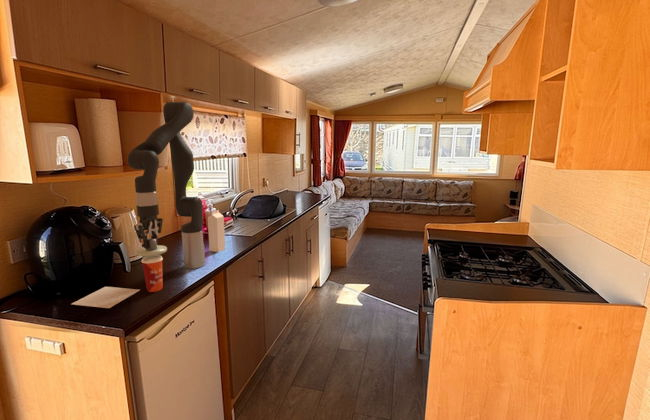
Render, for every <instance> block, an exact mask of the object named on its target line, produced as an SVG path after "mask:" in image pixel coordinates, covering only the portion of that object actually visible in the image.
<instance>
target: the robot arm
mask: <svg viewBox="0 0 650 420" xmlns="http://www.w3.org/2000/svg"><path fill="white" fill-rule="evenodd" d="M162 112H163V119H164V124H162V125H160V126H158V127H157V128H155V129H154V130H153V131H152V132H151V133H150V134H149V135H148V137H147V138H146V139H145V140H144V141H143V142H141V143H139V144H138V145H137V146H136V147H134V148H132V149H131V151H130V152H129V154H128V155H127V160H126V161H127V164H128V166H129V168H132V169H134V170H144V171H143V174H142V175H138V176H137V177H135V179H134V189H135V206H136V216H137V217H138V218H139V220H138V221H139V223H138V224H134V225H133V229H134V231H135V233H136V237H137V238H138V239H139V240H142V244H143V247H144V248H145V249H149V248H150V239H149V238H156V241H157V245H158V244H159V240H158V239H159V238H158V236H159V234H161V233H162V229H163V228H162V227H163V222H164V221H163V218H162V217H161V218H160V217H158V215H159V214H160V211H159V197H158V193H157V183H156V182H157V181H156V179H157V175H158V170H159V164H160V160H159V156H158V155H160V154H162V153H163V151H164V150H165V149H166V147H167V146H168V145H169V149H170V150H169V151H170V161H171V167H172V173H173V174H172V175H173V182H174V201H175V202H174V204H175V205H174V206H175V210H176V214H177V215H178V216H179V217H182V218H183V217H187V218H188V217H189V218H190V219H191V220H190V222H186V223H184V224H182V225H181V227H180V228H181V241H182V243H181V244H182V256H183V267H184V268H185V269H189V270H192V269H199V268H202V267H204V266H205V265H206V264H205V263H206V258H205V257H206V254H205V244H204V235H203V234H204V231H203V224H204V217H203V215H204V214H203V213H204V212H203V210H204V205H203V201H202V199H201V198H200V197H197V196H187V185H188V183H189V181H190V180H191V177H192V175H193V174H194V169H195V162H194V155H193V152H192V150H191V148H190V146H189V145H188V144H187V143H186V141H185V140H184V138H183V137H182V134H181V131H182V130H183V129H185V128H186V126H188V125H189V124H191V122H192V121H193V119H194V115H195V114H194V109H193V106H192V105H191V103H189V102H186V101H167V102H166V103H164V105H163V110H162ZM150 235H151V236H150Z"/></svg>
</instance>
